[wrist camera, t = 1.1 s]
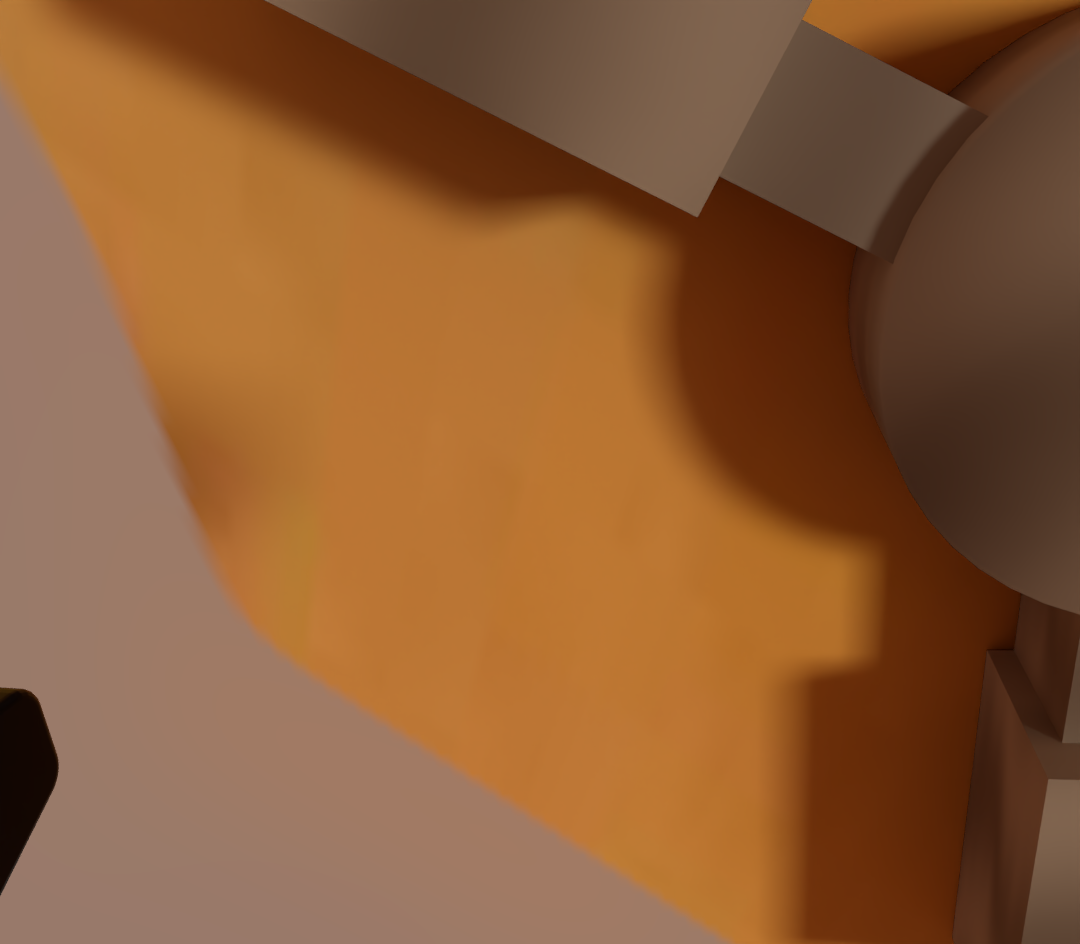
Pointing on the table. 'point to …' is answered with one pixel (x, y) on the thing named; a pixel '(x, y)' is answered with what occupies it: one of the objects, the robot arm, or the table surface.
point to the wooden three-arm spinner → (867, 303)
